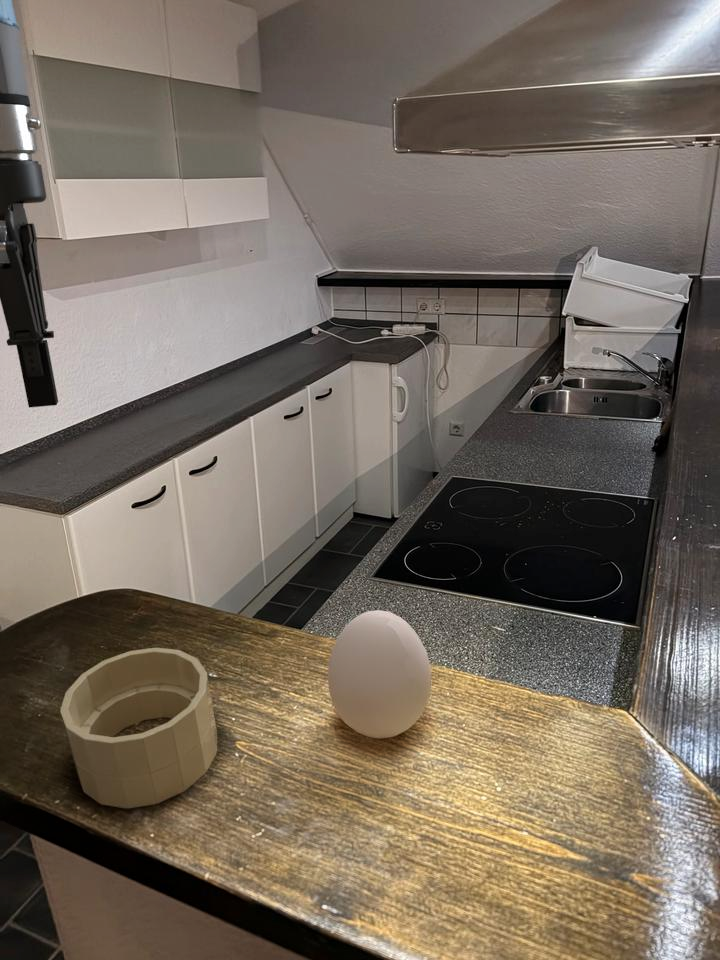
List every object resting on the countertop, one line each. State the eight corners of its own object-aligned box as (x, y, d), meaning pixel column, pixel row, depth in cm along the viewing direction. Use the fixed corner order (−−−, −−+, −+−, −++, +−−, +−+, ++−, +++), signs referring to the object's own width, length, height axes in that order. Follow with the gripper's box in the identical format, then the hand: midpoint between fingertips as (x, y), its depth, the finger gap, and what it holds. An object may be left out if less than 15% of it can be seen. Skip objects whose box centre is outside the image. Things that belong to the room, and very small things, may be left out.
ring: (69, 827, 58) (47, 752, 55) (93, 726, 68) (75, 658, 65) (217, 804, 59) (204, 729, 56) (219, 708, 69) (208, 640, 66)
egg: (395, 681, 71) (390, 576, 67) (453, 735, 65) (452, 622, 60) (314, 718, 67) (303, 609, 63) (366, 780, 61) (358, 663, 56)
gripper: (28, 155, 65) (74, 418, 74) (49, 159, 77) (87, 386, 86) (-67, 158, 64) (-8, 426, 73) (-31, 161, 76) (16, 392, 85)
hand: (43, 404), depth 79 cm, fingers closed
